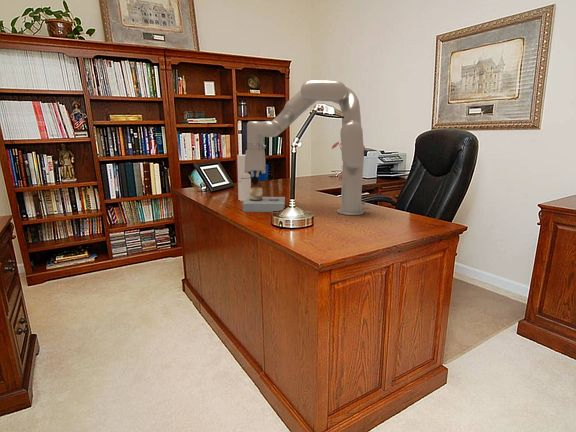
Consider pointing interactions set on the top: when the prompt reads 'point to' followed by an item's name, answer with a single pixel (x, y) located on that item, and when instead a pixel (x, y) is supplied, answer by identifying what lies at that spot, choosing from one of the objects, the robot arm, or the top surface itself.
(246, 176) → the grey square post
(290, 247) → the top surface
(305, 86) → the robot arm
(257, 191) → the birch peg
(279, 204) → the mortise board
